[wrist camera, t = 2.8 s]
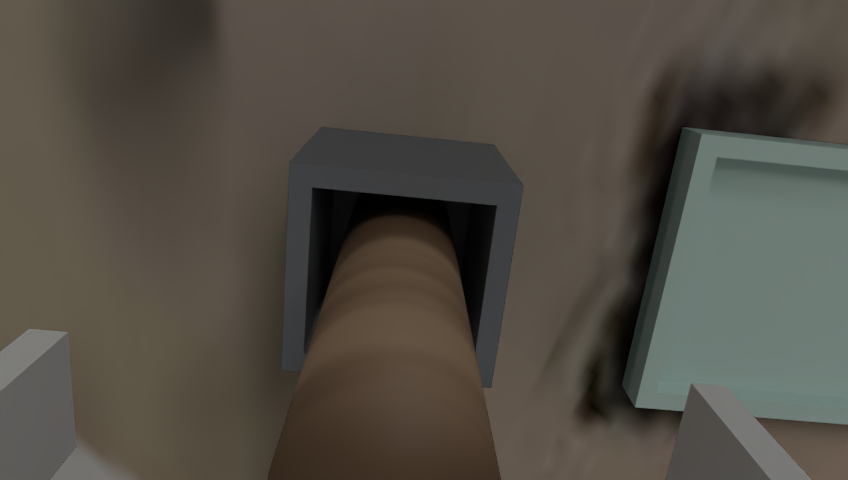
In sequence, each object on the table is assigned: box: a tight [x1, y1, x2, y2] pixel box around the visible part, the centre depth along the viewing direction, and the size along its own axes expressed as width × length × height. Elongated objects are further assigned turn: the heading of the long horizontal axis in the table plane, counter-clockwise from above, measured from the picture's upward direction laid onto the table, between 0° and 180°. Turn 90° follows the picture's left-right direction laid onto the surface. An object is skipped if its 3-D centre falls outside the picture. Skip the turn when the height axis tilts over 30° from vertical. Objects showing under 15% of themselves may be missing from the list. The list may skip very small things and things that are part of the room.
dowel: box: [268, 192, 501, 480], centre depth 18 cm, size 4×4×16 cm
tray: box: [622, 127, 848, 425], centre depth 27 cm, size 12×12×2 cm
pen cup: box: [281, 127, 524, 388], centre depth 23 cm, size 7×7×7 cm
